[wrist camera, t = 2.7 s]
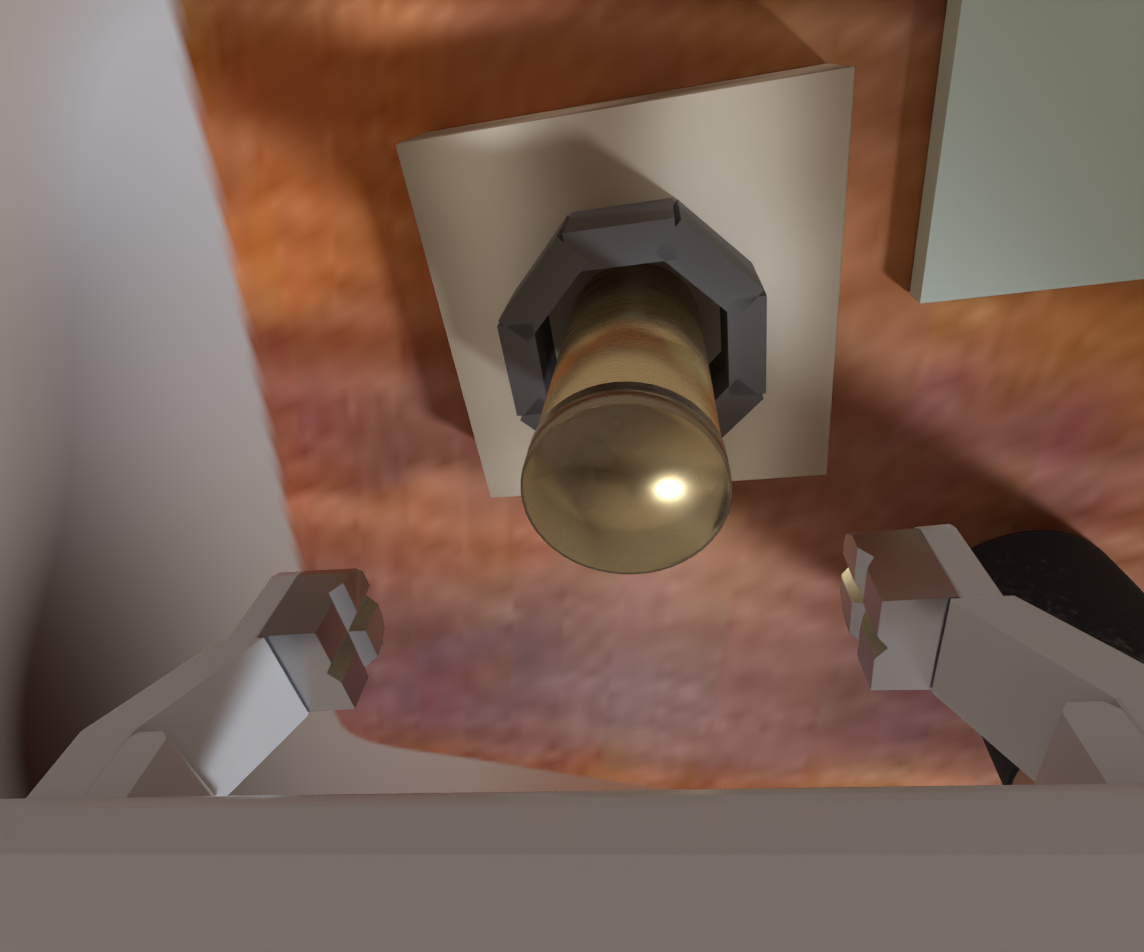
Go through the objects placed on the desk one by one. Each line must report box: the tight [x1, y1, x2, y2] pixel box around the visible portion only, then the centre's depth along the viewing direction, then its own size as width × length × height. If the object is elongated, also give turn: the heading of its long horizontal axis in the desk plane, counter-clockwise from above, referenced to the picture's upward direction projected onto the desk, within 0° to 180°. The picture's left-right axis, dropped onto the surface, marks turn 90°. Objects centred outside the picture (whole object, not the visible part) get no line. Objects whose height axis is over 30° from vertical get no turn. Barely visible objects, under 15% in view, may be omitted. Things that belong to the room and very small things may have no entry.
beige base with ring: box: [395, 63, 855, 498], centre depth 20 cm, size 12×12×6 cm
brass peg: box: [521, 263, 732, 574], centre depth 16 cm, size 4×4×9 cm
